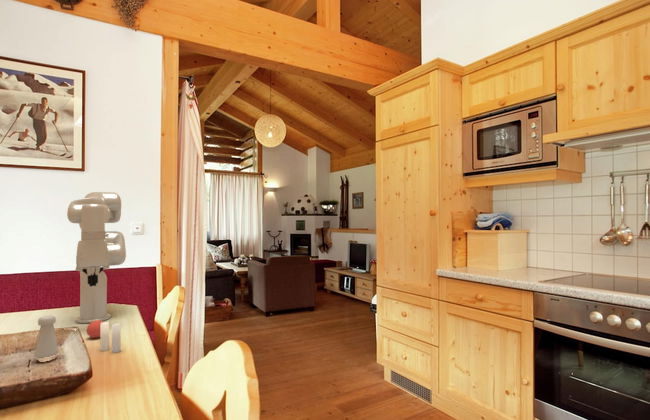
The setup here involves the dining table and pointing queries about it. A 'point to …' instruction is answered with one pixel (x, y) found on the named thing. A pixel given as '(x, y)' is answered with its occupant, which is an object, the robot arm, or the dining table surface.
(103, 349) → the pin
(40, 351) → the salt shaker
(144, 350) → the dining table surface
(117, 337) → the pin
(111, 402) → the dining table surface
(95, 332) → the ball
